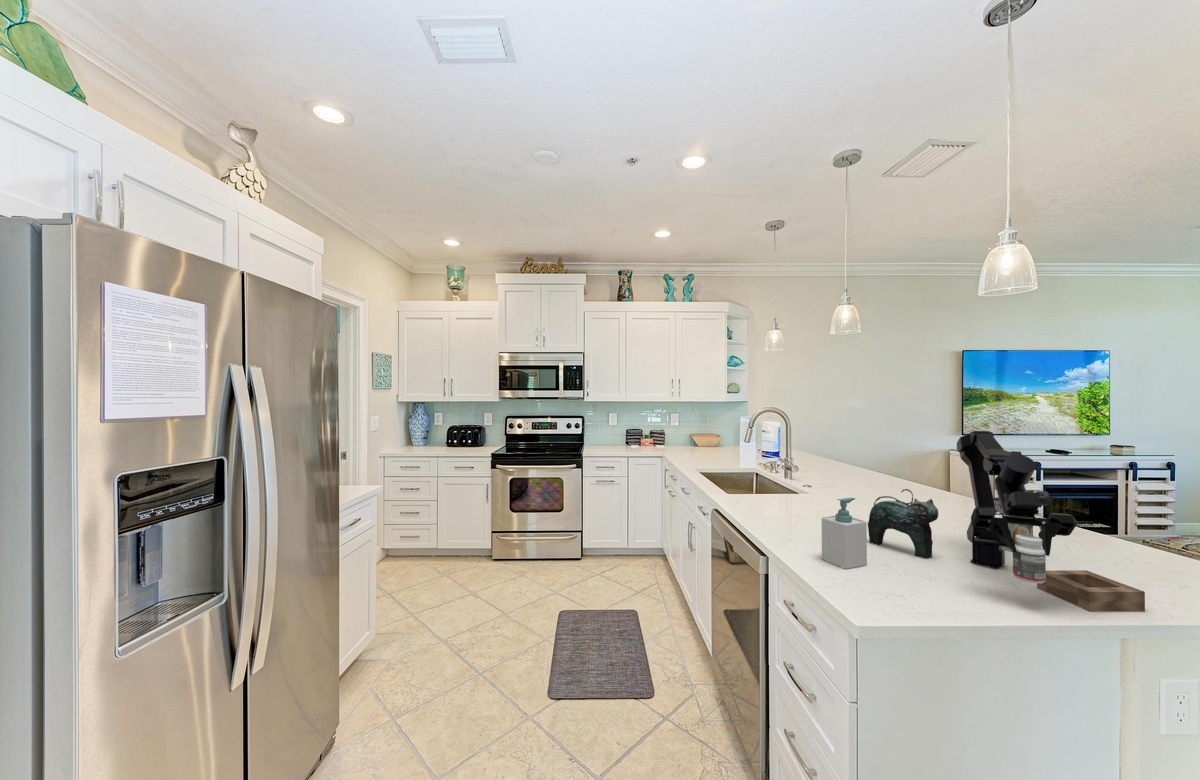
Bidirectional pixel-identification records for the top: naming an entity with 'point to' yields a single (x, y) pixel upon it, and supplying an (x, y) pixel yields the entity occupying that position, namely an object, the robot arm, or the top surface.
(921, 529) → the ceramic cat
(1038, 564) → the pill bottle
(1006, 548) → the coffee box
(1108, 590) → the walnut socket
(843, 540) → the soap bottle
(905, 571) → the top surface
